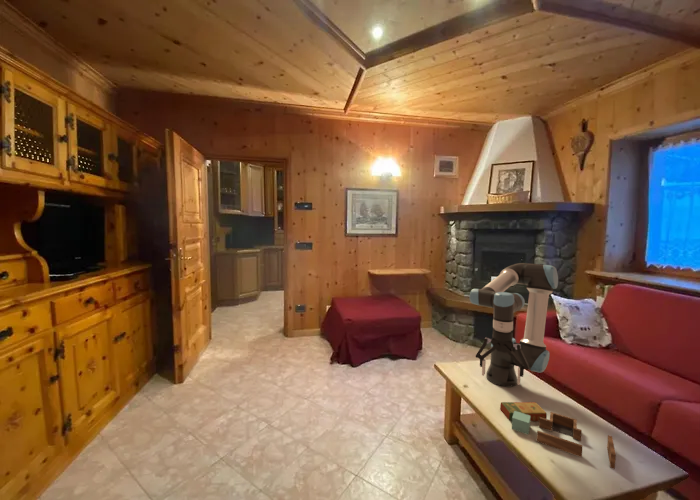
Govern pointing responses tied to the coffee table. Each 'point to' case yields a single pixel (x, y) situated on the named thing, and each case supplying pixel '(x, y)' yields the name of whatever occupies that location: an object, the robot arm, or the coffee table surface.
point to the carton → (523, 410)
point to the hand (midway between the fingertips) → (500, 378)
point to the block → (521, 422)
